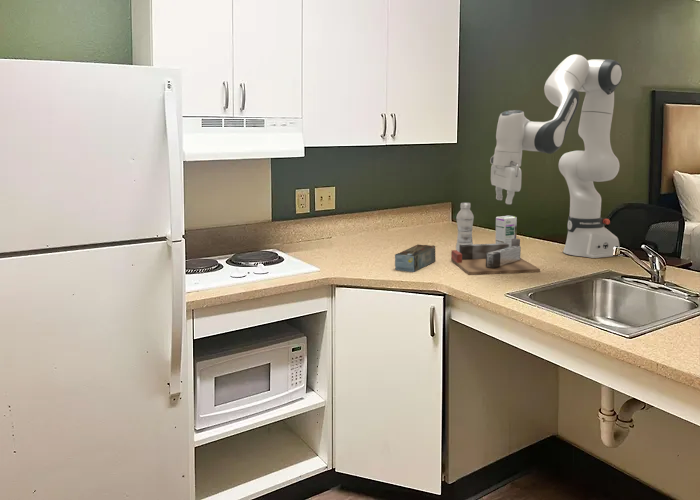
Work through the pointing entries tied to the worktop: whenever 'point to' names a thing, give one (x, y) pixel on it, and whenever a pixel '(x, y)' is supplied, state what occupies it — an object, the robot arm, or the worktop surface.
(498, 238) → the syrup box
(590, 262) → the worktop surface
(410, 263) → the beverage carton
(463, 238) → the plastic bottle
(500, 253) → the jaw
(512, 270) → the tongs base
